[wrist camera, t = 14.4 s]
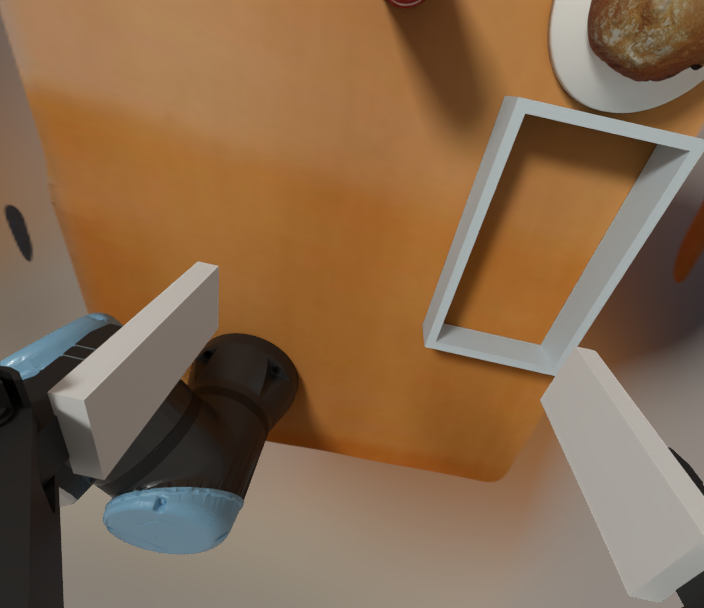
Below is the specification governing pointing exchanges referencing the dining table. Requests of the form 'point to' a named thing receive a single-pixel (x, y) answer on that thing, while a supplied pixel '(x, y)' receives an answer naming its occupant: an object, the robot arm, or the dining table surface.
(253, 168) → the dining table surface
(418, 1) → the soda can
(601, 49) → the bread roll
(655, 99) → the plate
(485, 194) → the hollow rectangular frame
